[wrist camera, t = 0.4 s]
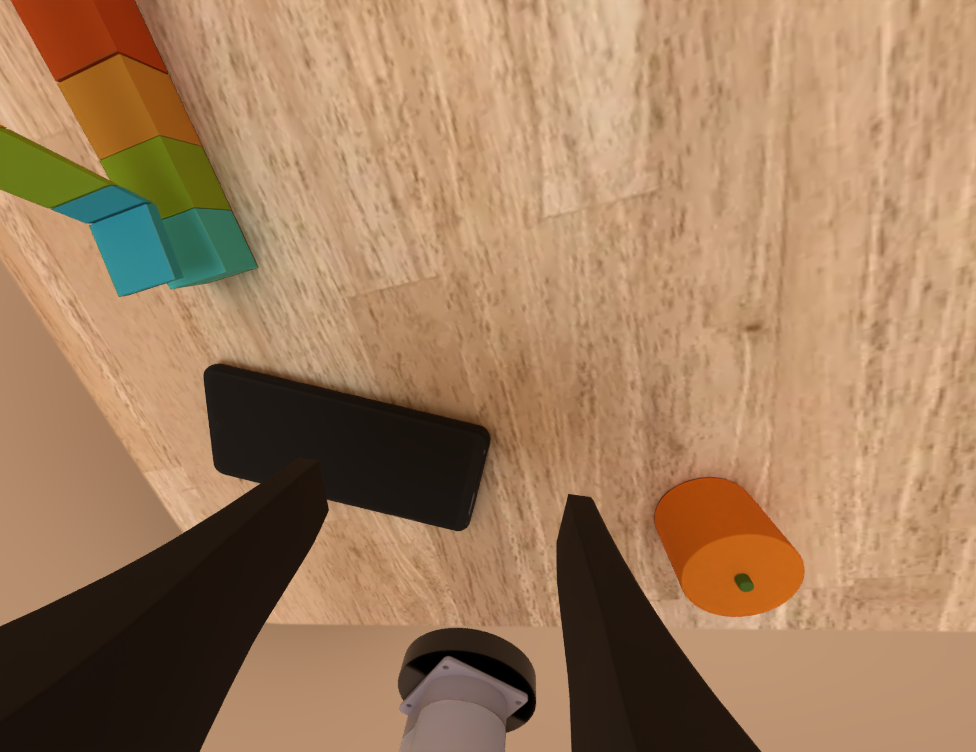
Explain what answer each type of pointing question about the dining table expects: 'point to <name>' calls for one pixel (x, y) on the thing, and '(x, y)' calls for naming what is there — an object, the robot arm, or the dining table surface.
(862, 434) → the dining table surface
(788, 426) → the dining table surface
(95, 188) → the chart
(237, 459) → the smartphone
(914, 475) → the dining table surface
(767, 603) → the mandarin
